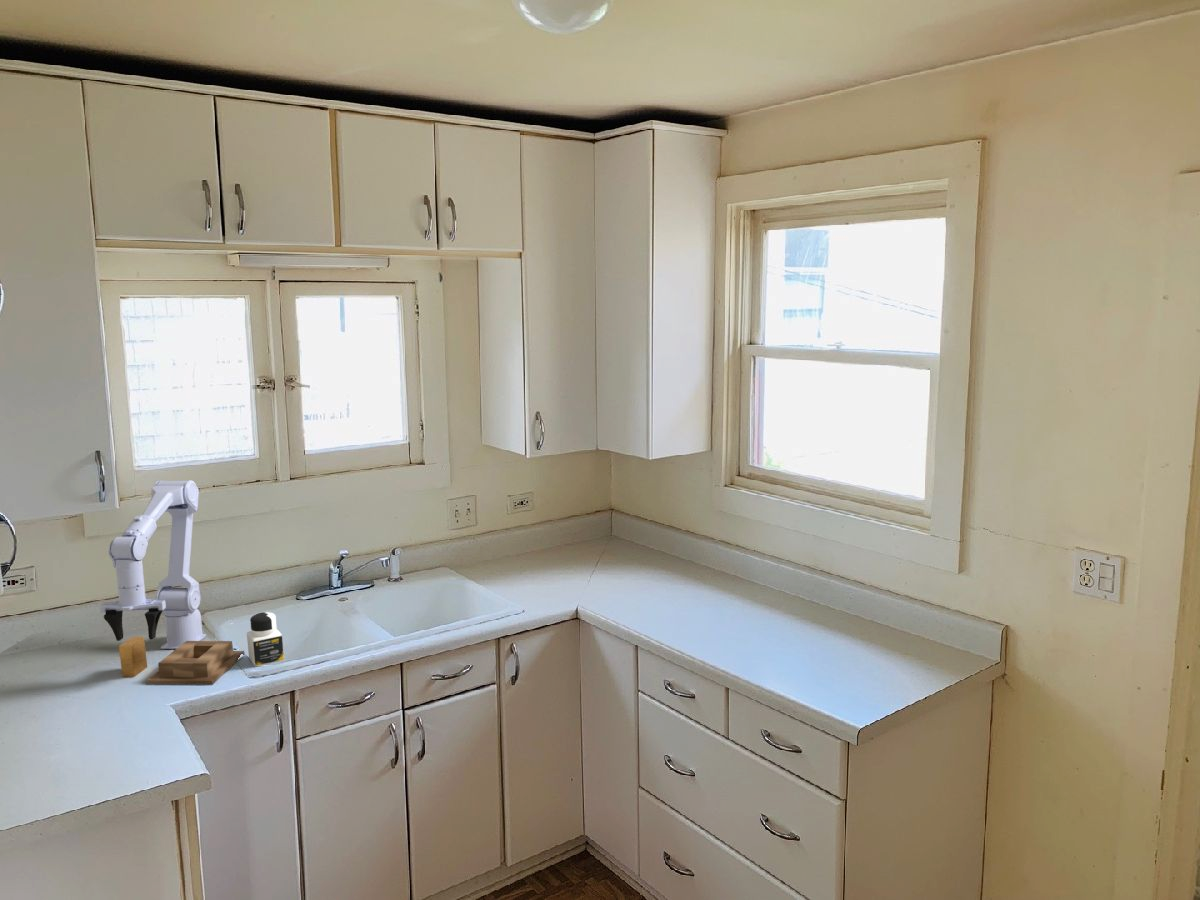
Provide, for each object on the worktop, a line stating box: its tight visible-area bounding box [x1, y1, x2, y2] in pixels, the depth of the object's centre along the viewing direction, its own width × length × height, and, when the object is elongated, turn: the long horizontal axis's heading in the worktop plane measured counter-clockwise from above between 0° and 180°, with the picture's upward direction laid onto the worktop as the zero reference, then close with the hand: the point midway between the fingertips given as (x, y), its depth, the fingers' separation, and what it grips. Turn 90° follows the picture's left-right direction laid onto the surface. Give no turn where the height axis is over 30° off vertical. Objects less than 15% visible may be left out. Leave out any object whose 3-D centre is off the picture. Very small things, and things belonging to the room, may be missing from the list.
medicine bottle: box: [246, 611, 285, 668], centre depth 232 cm, size 7×7×12 cm
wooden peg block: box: [118, 636, 148, 678], centre depth 226 cm, size 6×3×8 cm, turn 177°
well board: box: [146, 640, 246, 686], centre depth 227 cm, size 18×16×4 cm
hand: (136, 638), depth 222 cm, fingers open, 7 cm apart
